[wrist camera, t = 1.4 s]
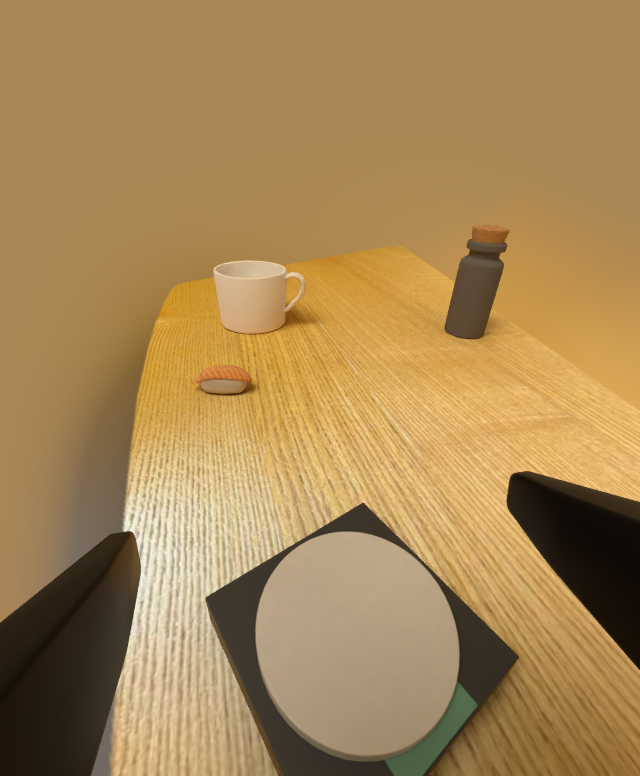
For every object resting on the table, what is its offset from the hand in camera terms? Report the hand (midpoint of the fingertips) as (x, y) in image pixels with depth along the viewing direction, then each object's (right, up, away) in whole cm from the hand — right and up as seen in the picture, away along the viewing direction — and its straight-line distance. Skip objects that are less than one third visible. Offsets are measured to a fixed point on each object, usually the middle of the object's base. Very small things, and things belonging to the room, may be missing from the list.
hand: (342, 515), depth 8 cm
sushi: (-11, +3, +31) cm, 33 cm away
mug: (-9, +13, +48) cm, 51 cm away
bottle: (+22, +12, +48) cm, 54 cm away
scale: (+1, -11, +11) cm, 15 cm away
